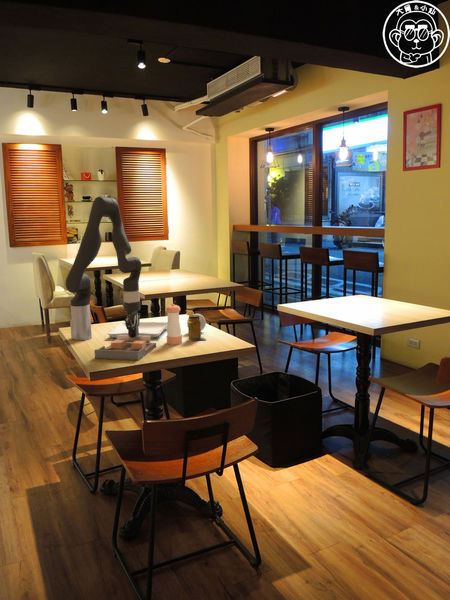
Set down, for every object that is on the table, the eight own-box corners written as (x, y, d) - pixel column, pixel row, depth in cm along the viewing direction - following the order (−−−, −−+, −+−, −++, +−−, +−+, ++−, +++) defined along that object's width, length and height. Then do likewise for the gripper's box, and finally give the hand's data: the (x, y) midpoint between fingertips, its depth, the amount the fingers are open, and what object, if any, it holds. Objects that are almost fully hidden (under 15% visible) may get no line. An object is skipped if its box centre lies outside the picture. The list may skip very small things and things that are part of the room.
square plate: (171, 328, 287) (170, 321, 287) (160, 340, 260) (159, 332, 260) (123, 328, 290) (122, 321, 289) (107, 340, 263) (106, 332, 262)
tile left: (111, 347, 239) (110, 342, 238) (115, 345, 243) (115, 339, 243) (121, 348, 238) (121, 342, 237) (125, 345, 242) (125, 340, 242)
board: (103, 353, 237) (103, 349, 237) (116, 345, 250) (116, 341, 250) (145, 355, 233) (145, 350, 232) (156, 347, 246) (156, 342, 246)
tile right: (131, 348, 236) (131, 343, 236) (135, 345, 241) (135, 340, 241) (142, 349, 235) (141, 343, 235) (146, 346, 240) (145, 340, 240)
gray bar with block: (116, 342, 246) (115, 325, 244) (119, 340, 249) (118, 324, 247) (148, 343, 242) (148, 326, 241) (151, 341, 245) (150, 325, 244)
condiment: (186, 338, 262) (186, 315, 260) (203, 337, 264) (202, 313, 262) (189, 341, 255) (188, 317, 253) (206, 340, 257) (205, 316, 255)
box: (95, 358, 228) (94, 349, 228) (103, 353, 237) (103, 345, 236) (138, 360, 224) (137, 351, 223) (145, 355, 232) (145, 346, 232)
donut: (188, 333, 272) (187, 314, 270) (186, 332, 275) (186, 313, 273) (206, 332, 274) (206, 313, 273) (205, 330, 278) (204, 312, 276)
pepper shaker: (181, 344, 250) (179, 304, 247) (166, 344, 250) (164, 305, 247) (182, 340, 257) (180, 302, 254) (167, 341, 257) (165, 302, 254)
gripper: (129, 297, 250) (131, 333, 253) (118, 302, 236) (120, 340, 239) (144, 298, 248) (146, 333, 251) (133, 303, 235) (135, 340, 237)
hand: (133, 336), depth 245 cm, fingers closed on gray bar with block, 3 cm apart
